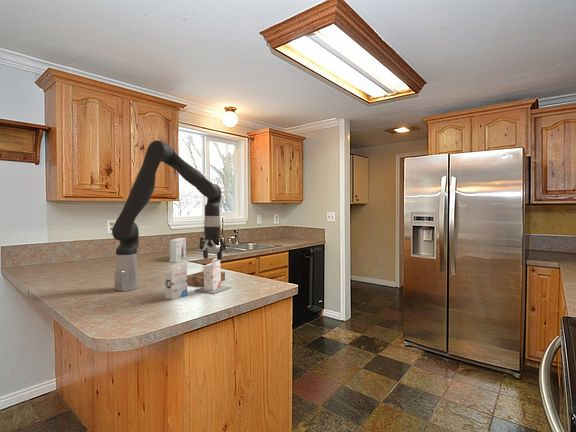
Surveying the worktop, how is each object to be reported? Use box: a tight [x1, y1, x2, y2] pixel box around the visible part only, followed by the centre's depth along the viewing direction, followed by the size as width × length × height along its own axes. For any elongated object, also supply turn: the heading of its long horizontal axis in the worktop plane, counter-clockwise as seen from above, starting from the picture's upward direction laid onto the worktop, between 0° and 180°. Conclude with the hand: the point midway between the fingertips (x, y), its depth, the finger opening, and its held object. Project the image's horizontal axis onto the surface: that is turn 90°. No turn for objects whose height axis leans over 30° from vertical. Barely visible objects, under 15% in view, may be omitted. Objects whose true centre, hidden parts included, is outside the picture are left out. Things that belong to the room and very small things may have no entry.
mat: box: [194, 285, 232, 295], centre depth 156 cm, size 12×12×1 cm
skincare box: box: [169, 237, 187, 263], centre depth 243 cm, size 21×6×16 cm, turn 179°
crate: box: [187, 270, 226, 288], centre depth 171 cm, size 12×16×4 cm
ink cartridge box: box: [203, 257, 222, 291], centre depth 156 cm, size 9×5×15 cm, turn 166°
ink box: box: [164, 262, 189, 301], centre depth 144 cm, size 9×5×15 cm, turn 148°
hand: (212, 259), depth 155 cm, fingers open, 8 cm apart
